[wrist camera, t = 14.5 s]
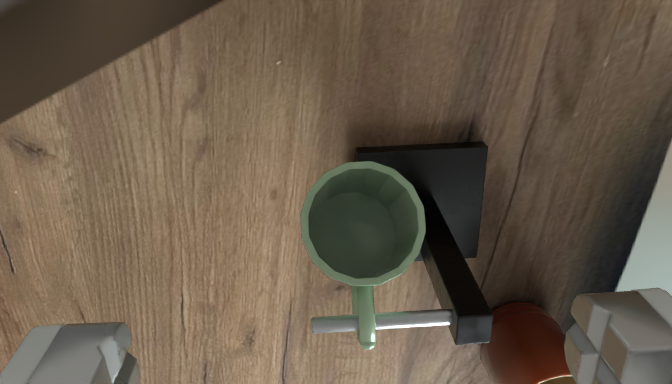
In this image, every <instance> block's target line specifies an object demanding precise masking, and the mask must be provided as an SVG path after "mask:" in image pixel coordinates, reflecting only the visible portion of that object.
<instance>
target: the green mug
mask: <svg viewBox="0 0 672 384" xmlns="http://www.w3.org/2000/svg"><path fill="white" fill-rule="evenodd" d="M300 217H301V237H302V241H303V244H304V246H305V249H306V251H307V253H308V255H309V257H310V259H311V261H312V264H313V265H314V266H315V267H316V268H317V269H318V270H319V271H320V272H322V273H323V274H324V275H325V276H326V277H327V278H329V279H332V280H335V281H338V282H341V283H343V284H347V285H351V297H352V313H353V315H358V318H359V331H354V335H355V337H356V339H357V340H358V342H359V343H360V345H361V346H362V347H363V348H364V349H366V350H370V349H373V348H374V347H375V345H376V341H377V340H376V326H375V311H374V297H373V285H381V284H383V283H385V282H387V281H389V280H391V279H393V278H395V277H397V276H399V275H401V274H402V273H404V271H405V270H406V269H407V268H408V267H409V266H410V264H411V263H412V262H413V261H414V260H415V259H416V257H417V256H418V254H419V252H420V249H421V246H422V243H423V239H424V236H425V233H426V232H425V231H426V225H425V214H424V206H423V204H422V202H421V200H420V198H419V196H418V194H417V192H416V190H415V189H414V187H413V186H412V184H411V183H410V182H409V181H407V180H406V179H405V178H404V177H403V176H402V175H401V174H399V173H398V172H397V171H396V170H394V169H393V168H390V167H387V166H384V165H381V164H378V163H375V162H372V161H364V162H348V163H345V164H342V165H340V166H338V167H336V168H334V169H332V170H330V171H328V172H326V173H324V174H323V175H322V177H321V178H320V179H319V180H318V181H317V182H316V183H315V184H314V185H313V186H312V188H311V189H310V190H309V191H308V194H307V197H306V199H305V202H304V205H303V208H302V210H301V214H300Z"/></svg>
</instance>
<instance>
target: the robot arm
mask: <svg viewBox="0 0 672 384" xmlns="http://www.w3.org/2000/svg"><path fill="white" fill-rule="evenodd" d="M570 313H571V314H572V316H573V317H574V318H575V320H576V321H577V322H576V323H575V324H574V325H573V326H572V327H571V328H570V329H569V330H568V331H567V332H566V338H565V344H564V349H565V357H566V362H567V365H568V368H569V371H570V373H571V375H572V376H573V378H574V380H575V381H576V383H577V384H672V296H671V295H670V294H669V293H668V292H667V291H665V290H662V289H660V288H651V289H639V290H631V291H624V292H608V293H593V294H578V295H577V296H576V297H575V299H574V301H573V303H572V308H571V312H570ZM131 341H132V339H131V335H130V332H129V328H128V325H126V324H125V323H124V322H108V323H83V324H66V325H44V326H37V327H35V328H33V329H31V330H30V331H29V333H28V334H27V336H26V337H25V338H24V340H23V341H22V343H21V344H20V346H19V347H18V349H17V350H16V352H15V353H14V355H13V356H12V358H11V359H10V361H9V362H8V364H7V365H6V367H5V368H4V370H3V371H2V373H1V374H0V384H140V376H139V368H138V363H137V359H136V358H134V357H133V356H132V355H131V354H129V353H128V352H127V351H128V349H129V346H130V343H131Z"/></svg>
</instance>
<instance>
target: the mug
mask: <svg viewBox="0 0 672 384" xmlns="http://www.w3.org/2000/svg"><path fill="white" fill-rule="evenodd" d="M492 314H493V321H492V329H491V337H490V342H489V343H478V346H479V351H480V357H481V360H482V362H483V364H484V366H485V368H486V370H487V372H488V375H489V377H490V379H491V381H492V383H493V384H577V383H576V381H575V380H574V378H573V376H572V375H571V373H570V371H569V368H568V365H567V362H566V357H565V349H564V344H565V338H566V337H565V335H564V334H563V332H562V331H561V328H560V326H559V325H558V324H557V322H556V321H555V320H553V318H552V317H551V316H550V315H549V314H548V313H546V312H545V311H544V310H543V309H542V308H541V307H539V306H537V305H535V304H531V303H526V302H515V303H510V304H506V305H503V306H501V307H499V308H497V309H495V310H494V311H492Z"/></svg>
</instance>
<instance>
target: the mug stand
mask: <svg viewBox="0 0 672 384" xmlns="http://www.w3.org/2000/svg"><path fill="white" fill-rule="evenodd" d="M487 152H488V146H487V145H486V144H485V143H484V142H464V143H444V144H423V145H403V146H382V147H362V148H356V162H364V161H372V162H375V163H378V164H381V165H384V166H387V167H390V168H393V169H394V170H396V171H397V172H398V173H399V174H401V175H402V176H403V177H404V178H405V179H406V180H407V181H409V182H410V183H411V184H412V186H413V187H414V189H415V190H416V192H417V194H418V196H419V198H420V200H421V202H422V204H423V206H424V214H425V225H426V231H425V232H426V233H425V236H424V239H423V243H422V246H421V249H420V252H419V254H418V256H417V257H416V259H415V260H414V261H424V263H425V266H426V268H427V271H428V274H429V276H430V279H431V281H432V284H433V287H434V289H435V292H436V294H437V297H438V300H439V302H440V305H441V308H442V309H437V310H421V311H405V312H389V313H375V326H376V330H377V329H392V328H408V327H423V326H439V325H448V326H449V329H450V331H451V334H452V336H453V339H454V342H455V344H456V345H462V344H477V343H489V342H490V337H491V329H492V321H493V314H492V312H491V310H490V308H489V306H488V304H487V302H486V300H485V298H484V296H483V294H482V292H481V290H480V288H479V286H478V284H477V282H476V280H475V278H474V276H473V274H472V272H471V270H470V268H469V266H468V264H467V263H466V261H465V259H464V258H476V257H477V249H478V239H479V229H480V220H481V210H482V200H483V191H484V181H485V171H486V162H487ZM311 321H312V333H313V334H315V333H331V332H346V331H359V318H358V315H342V316H326V317H313V318H312V319H311Z"/></svg>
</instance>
